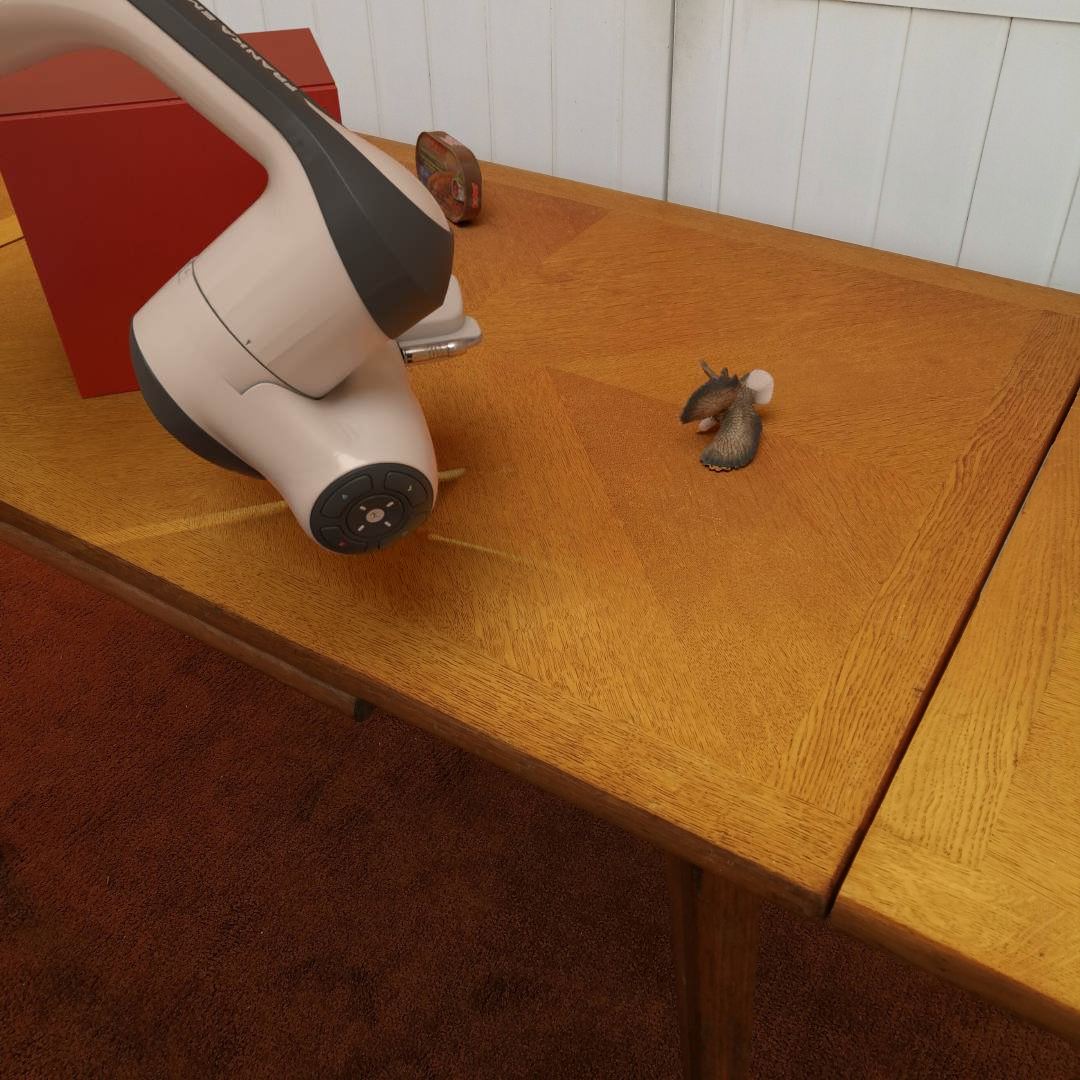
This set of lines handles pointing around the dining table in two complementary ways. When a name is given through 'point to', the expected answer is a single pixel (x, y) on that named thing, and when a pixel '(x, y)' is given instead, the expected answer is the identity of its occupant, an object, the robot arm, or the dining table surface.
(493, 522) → the dining table surface
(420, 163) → the tin
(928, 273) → the dining table surface
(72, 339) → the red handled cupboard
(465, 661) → the dining table surface
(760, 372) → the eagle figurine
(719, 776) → the dining table surface
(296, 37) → the red cabinet
